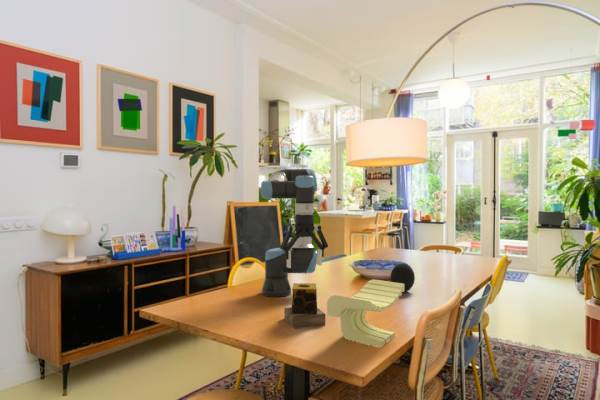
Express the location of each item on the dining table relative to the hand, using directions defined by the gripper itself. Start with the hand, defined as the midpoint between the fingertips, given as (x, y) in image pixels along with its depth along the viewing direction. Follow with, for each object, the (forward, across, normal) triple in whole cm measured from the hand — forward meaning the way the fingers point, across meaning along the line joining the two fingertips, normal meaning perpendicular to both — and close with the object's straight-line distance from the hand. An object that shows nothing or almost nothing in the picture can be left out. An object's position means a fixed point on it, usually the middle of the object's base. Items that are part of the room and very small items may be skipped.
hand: (304, 266), depth 161 cm
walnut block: (+23, 0, -1) cm, 23 cm away
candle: (+18, 0, 0) cm, 18 cm away
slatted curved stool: (+23, +14, -25) cm, 37 cm away
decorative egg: (+23, +67, +25) cm, 75 cm away
